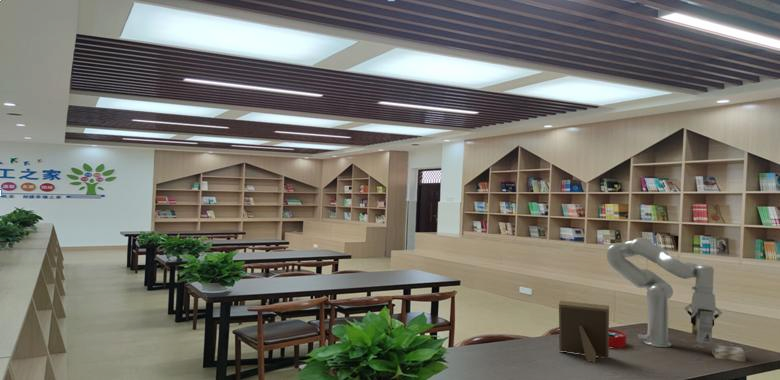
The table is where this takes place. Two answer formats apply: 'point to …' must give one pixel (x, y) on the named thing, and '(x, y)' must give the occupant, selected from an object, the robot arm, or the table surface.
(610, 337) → the toy clock
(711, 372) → the table surface
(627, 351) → the table surface
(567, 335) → the photo frame
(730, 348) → the stand
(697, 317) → the coffee box
